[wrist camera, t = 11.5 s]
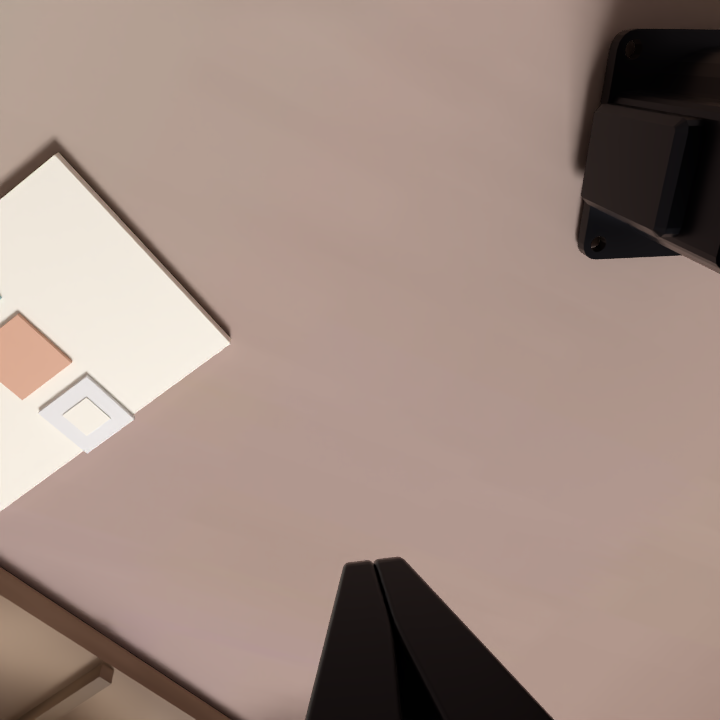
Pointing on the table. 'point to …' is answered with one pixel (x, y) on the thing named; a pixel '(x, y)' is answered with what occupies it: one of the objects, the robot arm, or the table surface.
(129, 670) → the brown divided rack
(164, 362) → the pattern card
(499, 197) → the table surface
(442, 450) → the table surface
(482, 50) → the table surface
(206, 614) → the table surface
